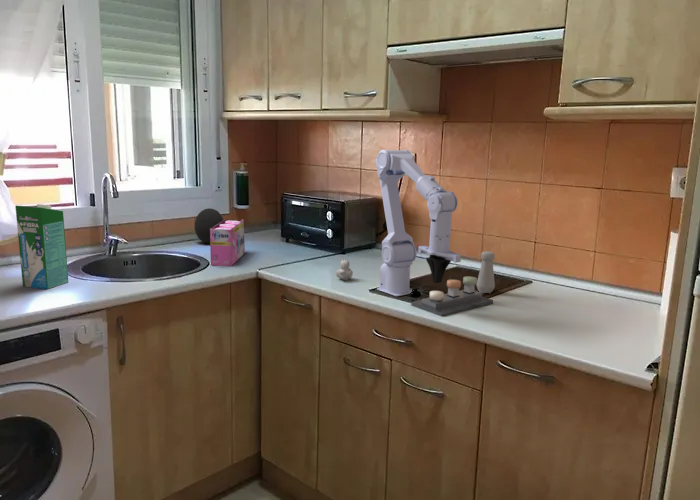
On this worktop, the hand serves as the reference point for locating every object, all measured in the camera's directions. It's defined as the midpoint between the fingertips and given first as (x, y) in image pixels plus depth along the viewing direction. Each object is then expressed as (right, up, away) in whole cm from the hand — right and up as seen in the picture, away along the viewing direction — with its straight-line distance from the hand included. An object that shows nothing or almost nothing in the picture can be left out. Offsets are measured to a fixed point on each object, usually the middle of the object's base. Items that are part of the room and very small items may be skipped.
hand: (437, 282), depth 166 cm
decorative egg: (-85, +12, +84) cm, 120 cm away
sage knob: (+11, -3, +9) cm, 15 cm away
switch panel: (+5, -7, +6) cm, 10 cm away
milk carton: (-119, -2, +15) cm, 120 cm away
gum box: (-71, +5, +56) cm, 91 cm away
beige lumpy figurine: (-27, -1, +30) cm, 40 cm away
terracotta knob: (+5, -4, +5) cm, 9 cm away
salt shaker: (+18, -4, +20) cm, 27 cm away
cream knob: (0, -7, +1) cm, 7 cm away
